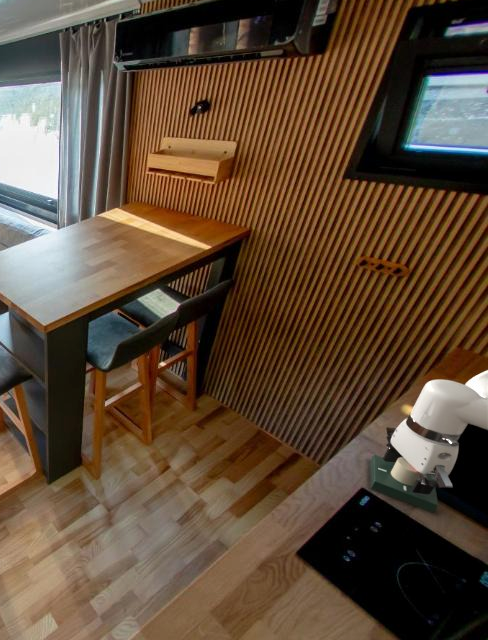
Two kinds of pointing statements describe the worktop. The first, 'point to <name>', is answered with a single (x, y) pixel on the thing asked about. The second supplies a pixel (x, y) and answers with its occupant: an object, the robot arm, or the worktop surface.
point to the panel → (398, 485)
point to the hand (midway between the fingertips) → (405, 475)
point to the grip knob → (405, 472)
